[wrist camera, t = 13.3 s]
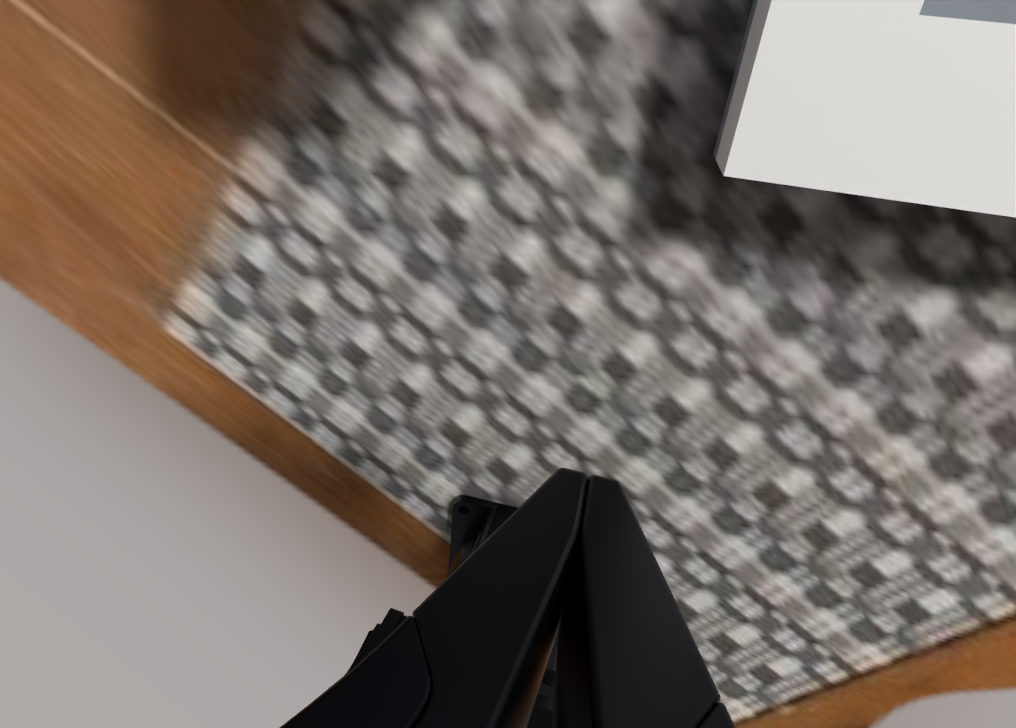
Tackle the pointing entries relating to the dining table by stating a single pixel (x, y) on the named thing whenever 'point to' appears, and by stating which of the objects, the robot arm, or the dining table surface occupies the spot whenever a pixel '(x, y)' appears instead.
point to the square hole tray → (878, 100)
